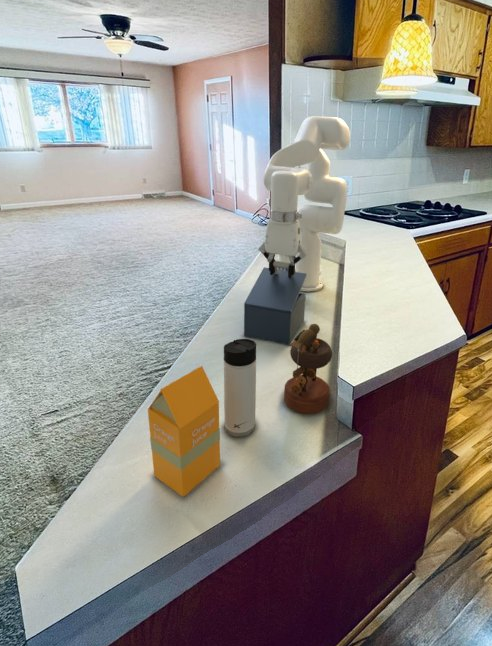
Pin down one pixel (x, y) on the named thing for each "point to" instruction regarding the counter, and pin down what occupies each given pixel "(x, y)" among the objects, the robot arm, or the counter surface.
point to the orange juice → (185, 432)
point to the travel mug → (239, 387)
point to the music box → (308, 373)
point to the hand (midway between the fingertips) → (281, 274)
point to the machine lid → (276, 289)
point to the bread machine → (274, 322)
